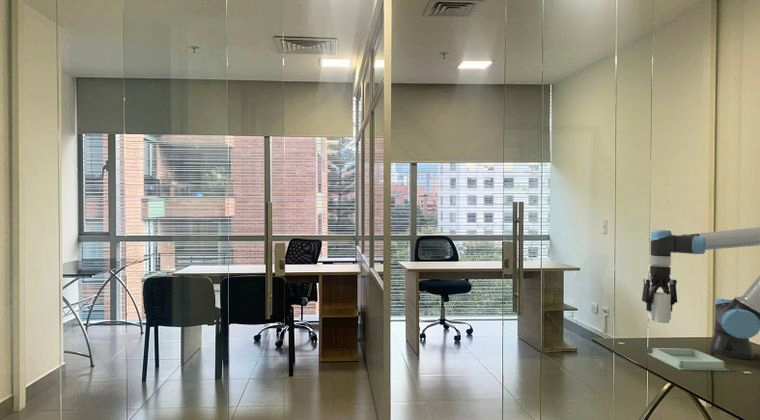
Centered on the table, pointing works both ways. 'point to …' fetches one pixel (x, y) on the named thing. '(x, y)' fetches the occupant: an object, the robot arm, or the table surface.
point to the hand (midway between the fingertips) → (659, 318)
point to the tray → (688, 359)
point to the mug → (661, 307)
